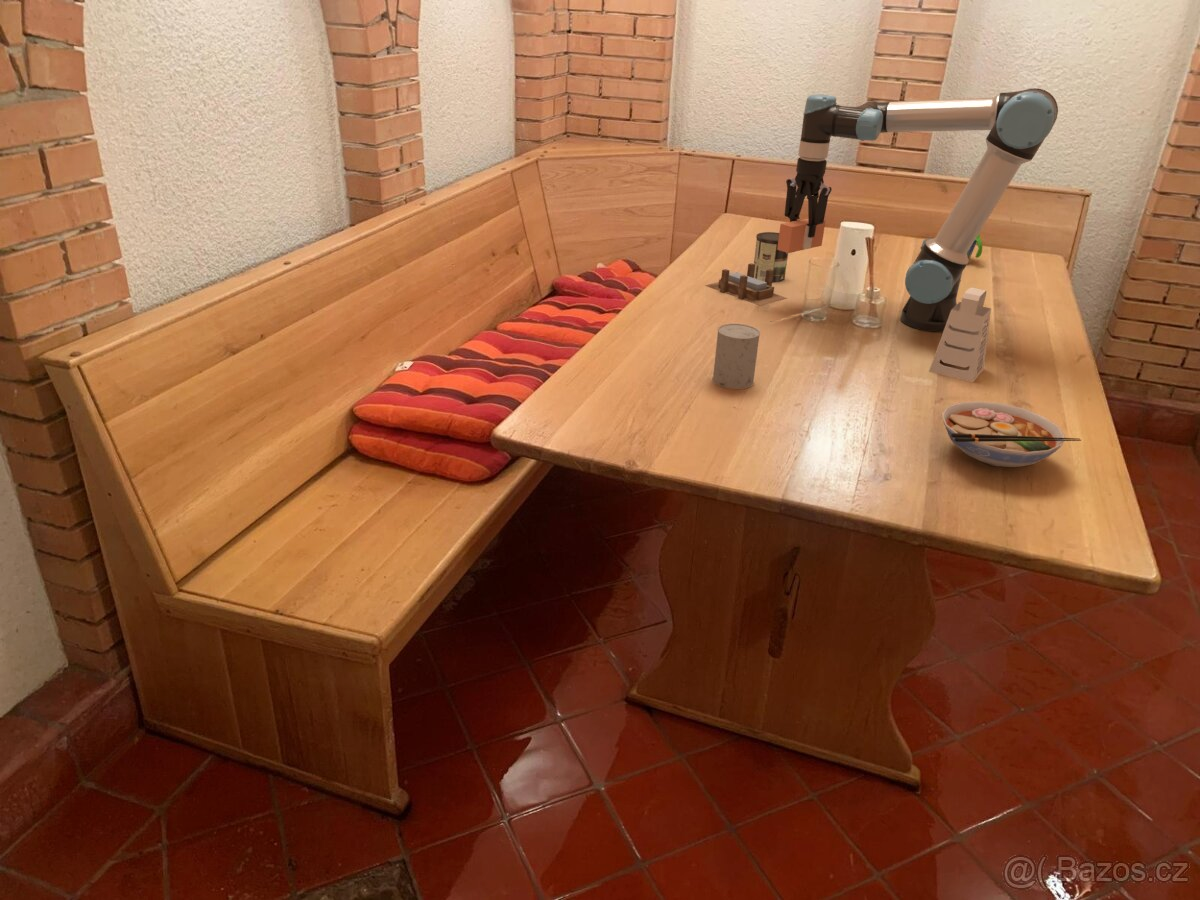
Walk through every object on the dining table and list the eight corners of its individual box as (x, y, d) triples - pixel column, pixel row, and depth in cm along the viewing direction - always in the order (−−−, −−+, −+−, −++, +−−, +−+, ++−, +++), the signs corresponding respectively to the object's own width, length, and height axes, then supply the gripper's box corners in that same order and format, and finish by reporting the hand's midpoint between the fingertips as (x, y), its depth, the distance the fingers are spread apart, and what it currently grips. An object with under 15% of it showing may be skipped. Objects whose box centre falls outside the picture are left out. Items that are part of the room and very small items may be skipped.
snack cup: (985, 266, 307) (993, 236, 302) (963, 269, 302) (970, 239, 298) (950, 254, 319) (956, 225, 314) (928, 257, 314) (934, 228, 310)
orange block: (821, 245, 251) (825, 220, 248) (788, 253, 243) (792, 227, 240) (810, 242, 254) (813, 217, 250) (777, 249, 246) (780, 223, 242)
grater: (984, 369, 224) (1003, 290, 215) (972, 382, 216) (993, 301, 207) (941, 358, 229) (958, 281, 220) (928, 371, 221) (946, 292, 212)
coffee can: (781, 276, 287) (787, 232, 280) (787, 286, 278) (793, 241, 271) (749, 275, 287) (754, 231, 280) (753, 285, 278) (758, 239, 271)
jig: (787, 301, 265) (791, 276, 261) (758, 309, 257) (761, 283, 254) (732, 282, 280) (735, 257, 276) (703, 289, 272) (705, 264, 269)
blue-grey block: (765, 295, 265) (767, 282, 263) (756, 298, 263) (757, 284, 261) (735, 285, 273) (736, 272, 271) (726, 287, 271) (727, 274, 269)
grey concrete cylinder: (721, 390, 206) (727, 339, 200) (706, 374, 214) (711, 324, 209) (760, 387, 209) (767, 337, 203) (743, 371, 217) (749, 322, 211)
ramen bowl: (1028, 433, 193) (1038, 398, 189) (1082, 487, 172) (1095, 449, 169) (912, 431, 191) (920, 395, 188) (953, 485, 171) (963, 447, 167)
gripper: (848, 162, 234) (833, 252, 245) (796, 151, 245) (784, 237, 256) (829, 165, 229) (815, 256, 240) (778, 154, 241) (766, 241, 252)
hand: (799, 246), depth 248 cm, fingers closed on orange block, 4 cm apart
